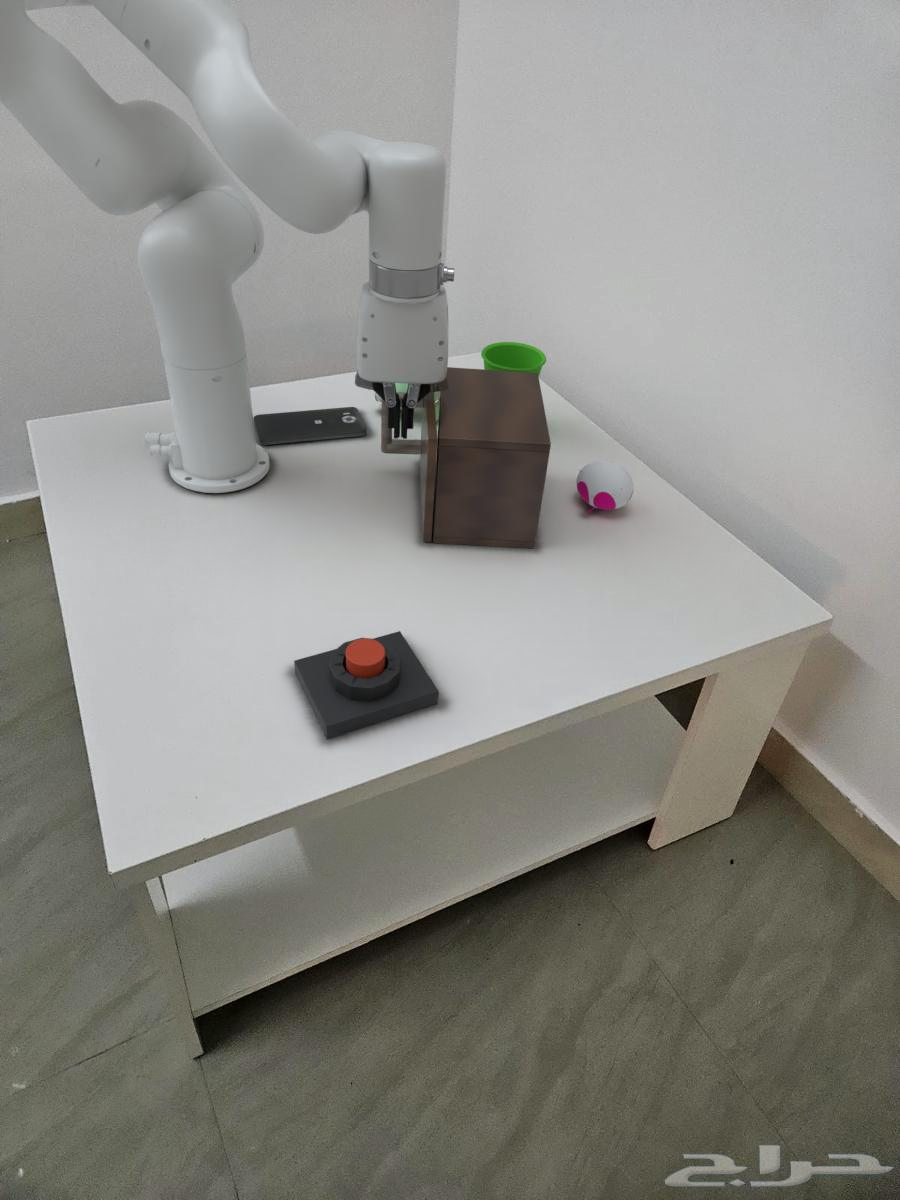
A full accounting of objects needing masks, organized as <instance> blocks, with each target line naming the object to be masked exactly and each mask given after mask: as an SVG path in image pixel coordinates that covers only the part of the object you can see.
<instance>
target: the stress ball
mask: <svg viewBox="0 0 900 1200" xmlns="http://www.w3.org/2000/svg"><path fill="white" fill-rule="evenodd" d="M634 488H635V487H634V481H633V478H632V476H631V475H630V473H629V471H627V470H626V469H625V468H624V467H623V466H621V465H620V464H618V463H616V462H613V461H610V460H595V461H592V462H589V463H587V464H586V465H584V466H583V467H582V468H581V469H580V470H579V472H578V474H577V477H576V489H577V491H578V494H579V496H580V498H581V499H582V500H584V502H585V503H586V504H588V505H589V506H591V507H592V508H590V509H589V510H588V511H587V512H585V513H584V514H583V515H584V516H585V515H586V514H589V512H592V511H593V510H595V509H598V510H604V511H613V510H617V509H620V508H622V507H624V506H625V505H627V504H628V503H629V502H630V500H631V499H632V497H633V495H634V490H635V489H634Z"/></svg>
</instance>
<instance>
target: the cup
mask: <svg viewBox="0 0 900 1200" xmlns="http://www.w3.org/2000/svg"><path fill="white" fill-rule="evenodd" d="M480 356H481V358H482V359H483V367H484V368H483V369H484V370H501V371H517V372H533V373H538V377H539V378H540V375H541V371H542V368H543V366H544V365H545V364H546V362H547V357H546V355H545V353H544V352H543V351H542V350H540V349H539V348H537V347H536V346H533V345H531V344H527V343H522V342H515V341H501V342H500V341H499V342H494V343H491V344H488V345H486V346H485V347H483V348H482V350H481V353H480Z"/></svg>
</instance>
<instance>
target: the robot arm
mask: <svg viewBox="0 0 900 1200" xmlns="http://www.w3.org/2000/svg"><path fill="white" fill-rule="evenodd" d="M80 6H81V7H83V6H85V7H89V6H90V7H91V6H93V7H94V8H95V9H96V10H97V11H98V12H99V13H100V14H101V15H102V16H103V17H104V18H105V19H106V20H107V21H108V22H110V24H111V25H113V27H115V29H117V30H118V31H119V32H120V34H121V35H123V36H124V37H125V38H126V39H128V41H129V42H130V43H131V44H132V45H134V47H136V48H137V50H139V51H140V53H142V55H144V56H145V57H146V58H147V59H148V60H149V62H151V63H152V64H153V65H154V66H155V67H156V68H157V69H158V70H159V71H160V72H161V73H162V74H163V75H164V76H165V77H166V78H167V79H168V80H170V81H171V83H172V84H173V85H175V87H176V88H178V89H179V90H180V92H182V94H184V96H185V97H186V99H188V101H189V102H190V104H191V105H192V108H193V110H194V113H195V115H196V117H197V119H198V121H199V123H200V125H201V127H202V128H203V130H204V132H205V133H206V135H207V137H208V139H209V140H210V142H211V144H212V146H213V147H214V149H215V151H216V152H217V154H218V155H219V157H220V158H221V159H222V161H223V162H224V164H225V165H226V167H227V168H228V169H229V170H230V171H231V172H232V173H233V175H234V176H235V177H236V178H237V179H238V180H239V181H240V182H241V183H242V184H243V185H245V187H246V188H248V189H249V190H250V192H252V193H253V195H255V196H256V197H257V198H258V199H259V200H260V201H261V202H262V203H263V204H265V206H267V207H268V209H270V211H272V212H273V213H274V214H275V215H277V216H278V217H279V218H280V219H282V220H283V221H284V222H286V223H287V224H288V225H290V226H292V227H293V228H295V229H297V230H299V231H302V232H303V233H307V234H313V235H320V234H321V235H322V234H326V233H329V232H332V231H334V230H336V229H337V228H339V227H340V226H341V225H342V224H344V223H345V222H346V221H347V220H348V219H349V218H350V217H351V216H354V215H356V214H359V213H361V212H364V211H365V212H366V213H368V281H367V282H365V283H363V285H362V286H361V292H360V296H359V297H360V298H359V303H358V304H359V305H358V315H357V317H358V318H357V330H356V331H357V332H356V333H357V334H356V366H357V368H356V373H355V376H354V378H355V379H354V386H356V387H357V388H361V389H365V390H368V391H373V392H374V393H375V392H376V393H377V394H378V395H379V396H380V397H381V398H382V399H383V400H384V401H385V402H386V405H387V406H388V428H392V429H393V439H399V438H402V439H406V440H408V430H413V429H414V419H415V418H414V416H415V415H414V414H415V408H414V407H416V405H417V403H418V402H419V401H420V400H421V399H423V398H424V397H425V396H426V395H427V394H428V393H429V392H438V391H443V390H447V389H448V378H447V367H449V366H448V365H449V303H448V296H447V290H446V288H445V287H444V283H447V282H454V281H455V268H454V267H448V266H447V265H445V264H444V263H442V255H443V254H442V253H443V237H444V236H443V235H444V234H443V233H444V220H445V219H444V216H445V202H446V201H445V199H446V180H447V163H446V158H445V156H444V154H443V153H442V152H441V151H440V150H439V149H438V148H437V147H434V146H432V145H429V144H426V143H421V142H415V141H386V140H382V139H380V138H379V139H378V138H376V137H372V136H369V135H365V134H362V133H360V132H355V131H351V130H348V129H330V130H326V131H323V132H322V133H319V134H318V135H316V136H314V137H313V138H311V139H310V138H309V137H308V136H307V135H306V134H305V133H304V132H302V130H301V129H299V127H298V126H297V125H295V123H294V122H293V121H291V119H290V118H289V117H288V116H286V114H285V113H284V112H283V111H282V110H281V109H280V107H278V105H277V104H276V103H275V101H274V100H273V99H272V97H270V95H269V94H268V92H267V90H266V89H265V88H264V86H263V85H262V83H261V81H260V79H259V77H258V75H257V72H256V71H255V67H254V65H253V62H252V61H253V60H252V56H251V45H250V44H251V41H250V35H249V31H248V27H247V26H246V24H245V22H244V20H243V19H242V18H241V16H239V14H238V13H236V11H235V10H234V9H233V8H232V7H231V6H230V5H228V3H227V2H226V1H224V0H0V103H1V104H2V105H3V106H4V107H5V108H6V109H7V110H8V111H9V112H10V113H11V115H12V116H13V117H14V118H15V119H16V120H17V121H18V122H19V123H20V124H21V126H22V128H24V129H25V131H26V132H27V133H28V134H29V136H31V138H33V140H34V141H35V142H36V143H37V144H38V145H39V146H40V148H41V149H42V150H43V151H44V152H45V153H46V154H47V155H48V156H49V157H50V159H51V160H52V161H53V162H54V164H56V166H58V167H59V169H61V171H62V172H63V173H64V174H65V175H66V177H67V178H68V179H70V181H71V182H72V183H73V184H74V186H76V187H77V189H78V190H80V192H81V193H82V194H83V195H84V196H85V197H86V198H87V199H88V200H89V202H91V203H92V204H93V205H95V206H96V207H97V208H98V209H100V210H102V212H104V213H106V214H109V215H113V216H128V215H132V214H136V213H137V212H139V211H142V210H144V209H146V208H148V207H150V206H152V205H154V204H155V205H156V206H157V207H158V208H159V209H160V210H161V212H160V213H158V214H157V215H155V216H154V217H153V218H152V219H151V220H150V221H149V222H148V224H147V225H146V227H145V228H144V230H143V231H142V233H141V236H140V238H139V240H138V245H137V254H136V255H137V256H136V257H137V266H138V270H139V273H140V277H141V280H142V283H143V286H144V288H145V291H146V293H147V297H148V299H149V303H150V305H151V308H152V312H153V316H154V319H155V320H154V321H155V324H156V329H157V333H158V338H159V344H160V350H161V356H162V359H163V364H164V365H163V366H164V371H165V376H166V382H167V388H168V394H169V400H170V405H171V413H172V418H173V423H174V430H175V431H171V432H170V433H162V432H154V431H147V432H146V433H145V436H144V444H145V447H147V448H149V455H150V456H151V457H152V456H153V457H154V456H155V457H163V456H164V457H168V458H169V460H168V470H169V471H168V472H169V474H170V477H171V479H173V481H174V482H175V483H176V484H178V485H179V486H181V487H183V488H184V489H187V490H191V491H194V492H199V493H204V494H205V493H206V494H207V493H208V494H220V493H221V494H223V493H230V492H236V491H240V490H243V489H246V488H248V487H251V486H253V485H255V484H257V483H259V482H260V481H262V480H263V478H265V476H266V475H267V474H268V472H269V470H270V466H271V465H270V464H271V463H270V455H269V453H268V452H267V450H266V449H264V447H263V446H261V445H260V444H258V443H257V442H256V435H255V423H254V416H253V415H254V414H253V405H252V404H253V403H252V395H251V386H250V384H251V383H250V375H249V364H248V355H247V350H246V348H247V347H246V340H245V333H244V326H243V321H242V319H241V316H240V312H239V310H238V308H237V305H236V303H235V300H234V296H233V288H232V286H233V283H235V282H236V281H237V280H238V279H239V278H240V277H241V276H243V275H244V274H245V273H246V272H247V271H248V270H250V269H251V268H252V267H253V266H254V264H255V263H256V262H257V261H258V260H259V258H260V256H261V254H262V252H263V250H264V249H263V248H264V244H265V231H264V225H263V222H262V219H261V217H260V215H259V213H258V210H257V209H256V207H255V206H254V204H253V203H252V201H251V200H250V198H249V197H248V196H247V195H246V193H245V191H244V190H243V189H242V188H241V186H240V185H239V184H238V183H237V181H235V179H234V178H233V177H232V176H231V175H230V173H229V172H228V171H227V169H226V167H224V166H223V164H222V163H221V162H220V161H219V159H218V158H216V156H215V155H214V153H213V152H212V151H211V149H209V148H208V146H207V144H206V143H205V142H204V141H203V140H202V139H201V138H200V136H199V135H198V134H197V133H196V131H195V130H194V129H193V128H192V127H191V126H190V125H189V124H188V123H187V122H186V120H184V118H182V117H181V116H180V115H178V114H177V113H176V112H175V111H173V110H172V109H170V108H168V107H167V106H166V105H164V104H161V103H158V102H156V101H153V100H147V99H133V100H130V101H126V102H122V103H119V102H117V101H116V100H114V99H113V97H112V96H110V95H109V94H108V93H107V92H106V91H105V90H104V89H103V87H102V86H101V85H100V84H99V83H98V82H97V81H96V80H95V79H94V78H93V77H92V75H91V74H90V73H89V71H88V70H87V69H86V67H84V65H83V64H82V62H81V61H80V60H79V59H78V58H77V57H76V56H75V55H74V54H73V53H72V52H71V51H70V50H69V49H68V48H66V46H64V44H62V43H61V42H59V41H58V40H57V39H56V38H55V37H53V36H52V35H50V34H49V33H48V32H47V31H45V30H44V29H42V28H41V27H40V26H39V25H37V24H36V23H35V22H34V21H33V20H32V19H31V17H30V16H29V15H28V14H27V12H28V11H34V10H42V9H51V8H58V7H59V8H60V7H80ZM26 11H27V12H26ZM395 383H408V386H407V392H406V394H404V399H402V407H401V399H399V395H398V394H397V393H396V385H395Z"/></svg>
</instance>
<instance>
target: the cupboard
mask: <svg viewBox="0 0 900 1200" xmlns="http://www.w3.org/2000/svg"><path fill="white" fill-rule="evenodd" d="M447 378H448V389H447V390H443V391H440V406H439V417H438V424H437V425H438V427H437V455H436V471H435V488H434V510H433V542H432V543H433V544H444V545H462V546H463V545H464V546H483V547H499V548H500V547H501V548H503V547H504V548H517V549H519V548H520V549H535V546H536V540H537V534H538V527H539V522H540V515H541V509H542V502H543V496H544V490H545V484H546V480H547V479H546V477H547V473H548V472H547V471H548V465H549V459H550V452H551V445H552V442H551V438H550V431H549V427H548V420H547V415H546V409H545V404H544V399H543V395H542V394H543V393H542V390H541V389H542V387H541V382H540V376H539V377H538V373H533V372H517V371H501V370H484V368H483V369H482V368H468V367H467V368H466V367H452V366H451V367H449V366H447Z"/></svg>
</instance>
